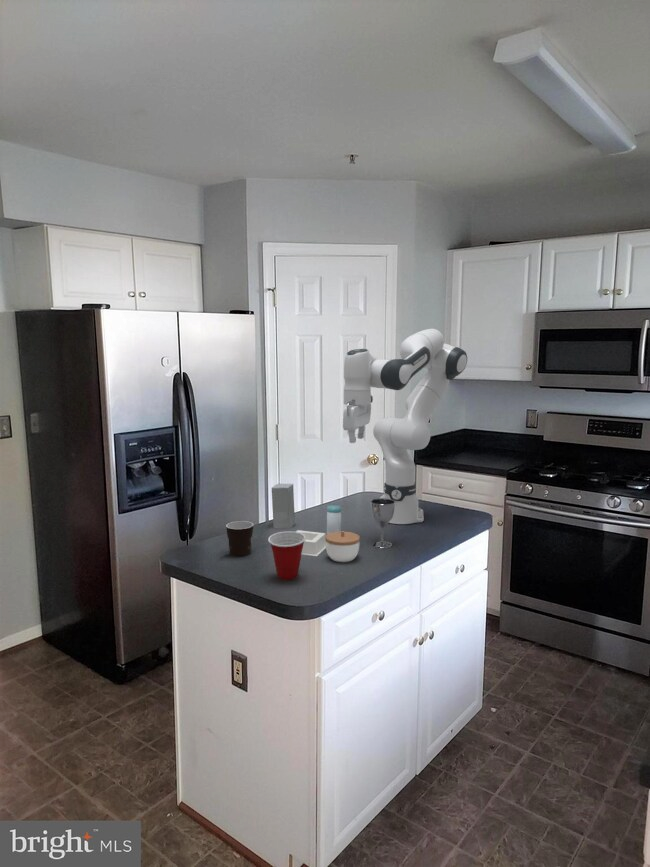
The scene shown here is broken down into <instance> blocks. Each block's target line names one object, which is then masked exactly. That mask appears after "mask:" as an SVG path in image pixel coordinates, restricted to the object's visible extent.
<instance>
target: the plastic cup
mask: <svg viewBox="0 0 650 867" xmlns="http://www.w3.org/2000/svg"><path fill="white" fill-rule="evenodd" d="M267 538H268V540H267V541H268V544H270V546H271V551H272V554H273V562H274V565H275V566H274V567H275V568H276V570H275V572H276V575H277V578H278V579H280V580H281V581H282V580H284V581H292V580H295V579H297V577H298V575H299V570H300V566H301V559H302V555H303V554H302V548H303V544H304V541H305V539H306V537H305V535H304V534H302V533H299V532H296V531H290V530H289V531H287V530H286V531H280V532H279V531H278V532H275V533H274V534H271V535H270V536H269V537H267Z"/></svg>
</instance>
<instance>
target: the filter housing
mask: <svg viewBox="0 0 650 867" xmlns="http://www.w3.org/2000/svg"><path fill="white" fill-rule="evenodd" d="M295 532H299V533H302V534H304V535H305V537H306V539H305V541H304V544H303V548H302V554H301V555H303V556H313V557H318V556H319V555H320V554H321V553H322V552H324V550H326V540H325V536H326V535H327V532H317V531H308V530H301V529H297V530H296V531H295Z"/></svg>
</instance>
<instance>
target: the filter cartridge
mask: <svg viewBox="0 0 650 867" xmlns="http://www.w3.org/2000/svg"><path fill="white" fill-rule="evenodd" d="M341 531H342V506H341V505H338V504H337V505H336V504H330V505H327V506H326V535H327V534H329V533H332V532H341Z"/></svg>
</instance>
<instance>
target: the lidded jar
mask: <svg viewBox="0 0 650 867" xmlns="http://www.w3.org/2000/svg"><path fill="white" fill-rule="evenodd" d="M325 540H326V548H325V550H326V554H327V556H328V557H329V559H330V560H332V561H334V562H338V563H348V562H352V561H354V559H355V558H357V556H358V553H359V550H360V541H361V536H360V535H359V534H357V533H354V532H351V531H350V532H349V531H344V530H341V532H332V533H329V534H327V533H326V536H325Z"/></svg>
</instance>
